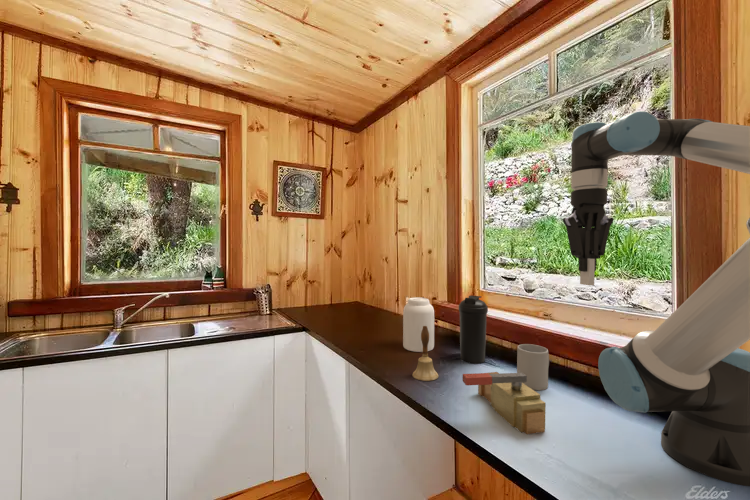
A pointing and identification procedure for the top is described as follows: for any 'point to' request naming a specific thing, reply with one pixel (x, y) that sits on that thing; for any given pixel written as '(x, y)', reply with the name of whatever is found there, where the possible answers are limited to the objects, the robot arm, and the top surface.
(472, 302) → the water bottle
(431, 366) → the hand bell
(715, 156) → the robot arm
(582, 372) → the top surface
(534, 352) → the mug
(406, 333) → the white lidded jar
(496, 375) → the lever
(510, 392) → the valve
